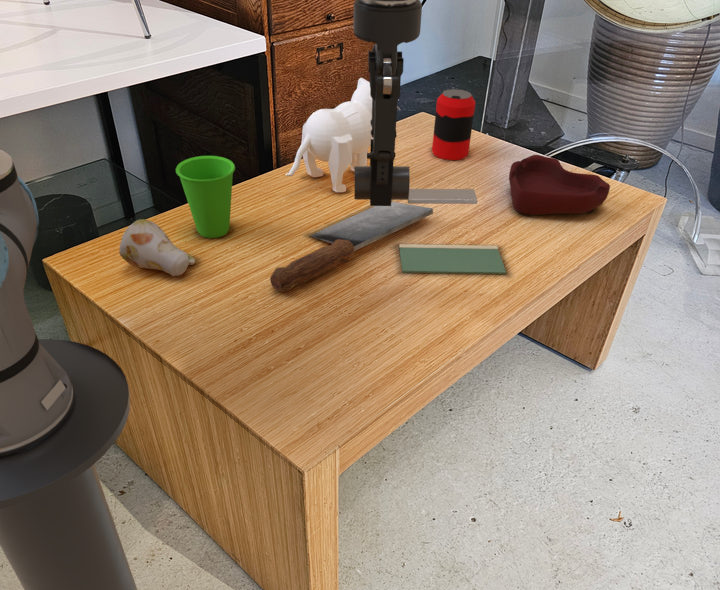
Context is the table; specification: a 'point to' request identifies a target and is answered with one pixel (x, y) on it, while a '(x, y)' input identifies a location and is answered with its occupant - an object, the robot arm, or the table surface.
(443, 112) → the soda can
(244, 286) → the table surface
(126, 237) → the pale spotted pear
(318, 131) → the cat figurine
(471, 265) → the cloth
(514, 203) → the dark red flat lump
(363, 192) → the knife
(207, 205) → the cup
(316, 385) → the table surface
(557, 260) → the table surface
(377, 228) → the meat cleaver
